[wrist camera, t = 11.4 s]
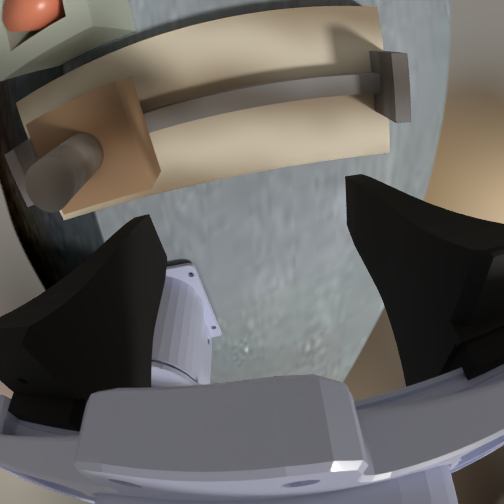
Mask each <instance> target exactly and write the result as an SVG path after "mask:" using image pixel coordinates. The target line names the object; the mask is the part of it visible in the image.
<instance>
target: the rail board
mask: <svg viewBox="0 0 504 504" xmlns="http://www.w3.org/2000/svg"><path fill="white" fill-rule="evenodd" d="M130 76H132V78H133V82H134V85H135V89H136V92H137V95H138V99H139V102H140V106H141V109H142V112H143V115H144V119H145V122H146V125H147V128H148V132H149V135H150V138H151V141H152V144H153V147H154V150H155V153H156V157H157V160H158V163H159V166H160V169H161V172H160V174H159V176H158V178H157V180H156V182H155V183H154V185H153V187H152V189H150V190H146V191H142V192H139V193H135V194H131V195H128V196H124V197H121V198H117V199H114V200H110V201H107V202H103V203H100V204H97V205H93V206H90V207H87V208H84V209H80V210H77V211H74V212H71V213H68V214H65V215H64V214H63V212H62V210H60V213H61V215H62V217H63V219H64V220H67V219H70V218H73V217H76V216H79V215H83V214H86V213H89V212H93V211H96V210H100V209H103V208H106V207H110V206H113V205H117V204H121V203H124V202H128V201H132V200H135V199H139V198H143V197H147V196H151V195H155V194H159V193H163V192H167V191H171V190H175V189H179V188H183V187H188V186H192V185H196V184H201V183H205V182H210V181H215V180H219V179H224V178H229V177H234V176H239V175H244V174H249V173H254V172H260V171H265V170H271V169H276V168H282V167H288V166H294V165H300V164H306V163H313V162H320V161H326V160H333V159H341V158H348V157H356V156H364V155H373V154H382V153H390V137H389V119H390V120H392V121H394V122H395V123H402V122H411V101H410V82H409V68H408V57H407V53H399V52H390V51H383V43H382V36H381V29H380V23H379V16H378V11H377V7H369V6H317V7H300V8H288V9H279V10H270V11H262V12H255V13H249V14H243V15H237V16H232V17H227V18H222V19H217V20H213V21H208V22H204V23H200V24H196V25H192V26H188V27H184V28H181V29H177V30H174V31H170V32H167V33H164V34H161V35H158V36H154V37H151V38H148V39H146V40H143V41H140V42H137V43H134V44H132V45H129V46H126V47H124V48H121V49H119V50H116V51H114V52H111V53H109V54H107V55H104V56H102V57H100V58H97V59H95V60H93V61H91V62H89V63H87V64H84V65H82V66H80V67H78V68H76V69H74V70H72V71H70V72H68V73H66V74H64V75H62V76H61V77H59V78H57V79H55V80H53V81H51V82H50V83H48V84H46V85H44V86H43V87H41V88H39V89H37V90H36V91H34V92H32V93H31V94H29V95H28V96H26V97H24V98H23V99H21V100H20V101H18V102H17V103H16V105H17V108H18V111H19V114H20V117H21V120H22V123H23V126H24V129H25V132H26V134H27V137H28V140H26V141H25V142H23V143H22V144H20V145H19V146H17V147H15V148H14V149H12V150H11V151H9V152H8V153H6V154H5V157H6V160H7V162H8V165H9V167H10V170H11V172H12V174H13V176H14V179H15V181H16V183H17V185H18V188H19V190H20V192H21V194H22V196H23V198H24V200H25V202H26V204H27V206H28V207H29V206H32V205H34V203H33V202H32V201H31V199H30V198H29V196H28V194H27V191H26V186H25V178H26V174H27V171H28V170H29V168H30V167H31V166H32V165H33V164H34V163H36V162H37V161H38V160H39V158H38V156H37V154H36V151H35V148H34V146H33V143H32V141H31V138H30V135H29V132H28V130H27V127H26V124H28V123H29V122H31V121H33V120H35V119H36V118H38V117H40V116H42V115H44V114H45V113H47V112H49V111H51V110H53V109H55V108H57V107H59V106H61V105H63V104H65V103H67V102H69V101H71V100H73V99H75V98H77V97H79V96H82V95H84V94H86V93H88V92H90V91H93V90H95V89H97V88H100V87H102V86H105V85H107V84H109V83H112V82H114V81H117V80H120V79H124V78H127V77H130Z"/></svg>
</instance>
